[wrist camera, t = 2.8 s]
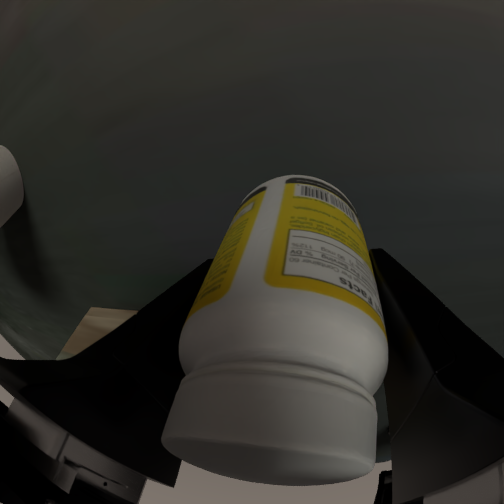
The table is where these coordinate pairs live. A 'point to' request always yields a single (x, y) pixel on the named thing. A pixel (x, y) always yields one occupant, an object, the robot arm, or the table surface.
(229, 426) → the supplement bottle
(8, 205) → the dixie cup
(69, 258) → the table surface
